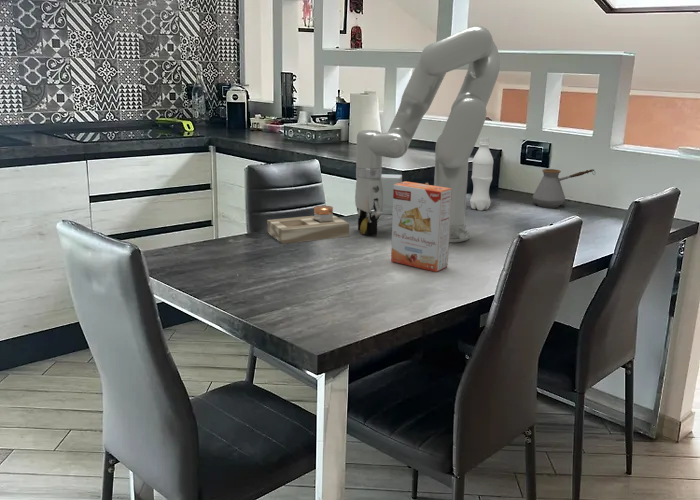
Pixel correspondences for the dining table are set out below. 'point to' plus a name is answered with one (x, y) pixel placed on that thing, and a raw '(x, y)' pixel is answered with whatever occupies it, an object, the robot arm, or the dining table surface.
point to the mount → (306, 229)
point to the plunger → (323, 213)
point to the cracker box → (421, 225)
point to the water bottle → (482, 176)
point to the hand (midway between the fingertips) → (367, 232)
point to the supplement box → (389, 191)
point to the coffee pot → (552, 188)
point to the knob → (364, 226)
